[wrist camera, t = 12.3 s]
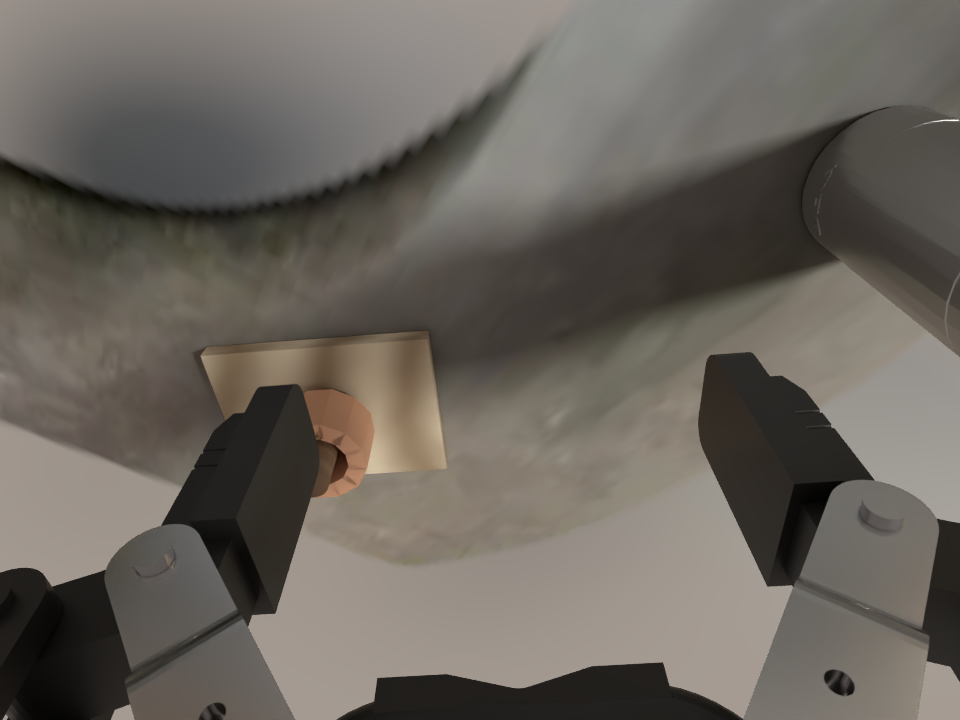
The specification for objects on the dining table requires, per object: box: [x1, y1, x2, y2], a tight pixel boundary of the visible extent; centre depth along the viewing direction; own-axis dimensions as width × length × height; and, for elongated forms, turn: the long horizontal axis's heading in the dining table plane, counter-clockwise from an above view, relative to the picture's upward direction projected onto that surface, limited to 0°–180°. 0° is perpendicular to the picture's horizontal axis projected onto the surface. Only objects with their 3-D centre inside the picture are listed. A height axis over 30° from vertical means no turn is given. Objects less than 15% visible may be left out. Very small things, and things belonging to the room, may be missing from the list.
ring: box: [304, 389, 375, 498], centre depth 44 cm, size 6×6×4 cm
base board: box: [201, 330, 447, 474], centre depth 47 cm, size 16×12×1 cm
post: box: [311, 389, 351, 497], centre depth 43 cm, size 5×5×7 cm
